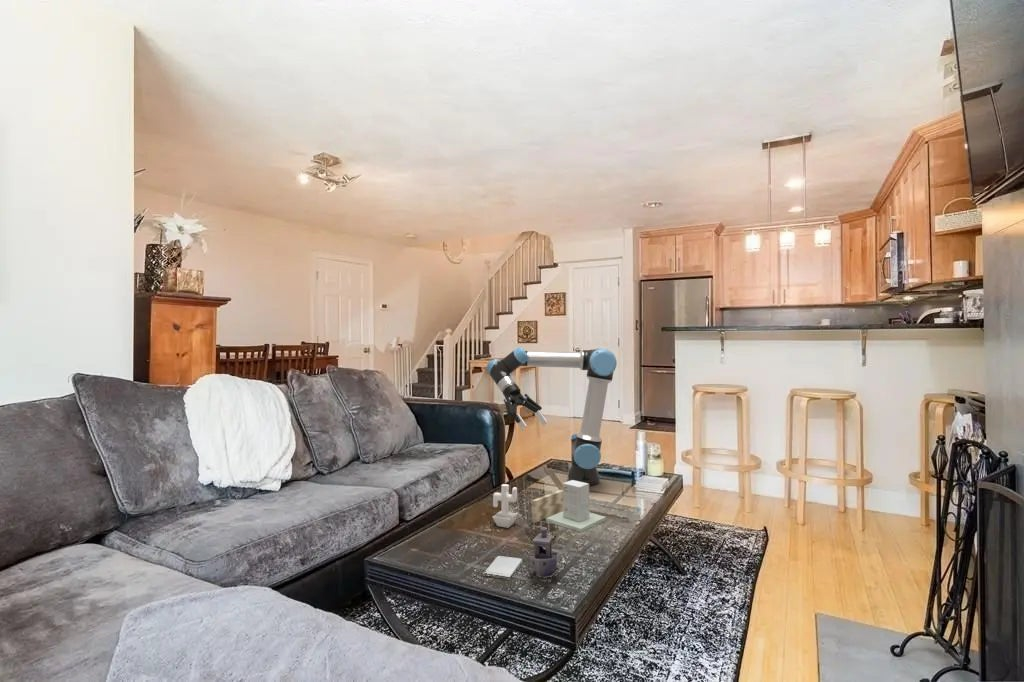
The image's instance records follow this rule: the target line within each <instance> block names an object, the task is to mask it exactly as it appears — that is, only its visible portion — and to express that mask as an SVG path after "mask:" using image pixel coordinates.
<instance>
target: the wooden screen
mask: <svg viewBox="0 0 1024 682" xmlns="http://www.w3.org/2000/svg"><path fill="white" fill-rule="evenodd" d="M562 511H563V488H562V489H560V490H557V491H554V492H551V493H549V494H545V495H542V496H540V497H538V498H535V499H532V500H531V523H534V524H535V523H538V522H541V521H542V520H543V521H544V520H546V518H548V517H550V516H553V515H555V514H557V513H560V512H562Z"/></svg>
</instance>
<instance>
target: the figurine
mask: <svg viewBox="0 0 1024 682" xmlns="http://www.w3.org/2000/svg"><path fill="white" fill-rule="evenodd" d="M500 489H501V491H500V492H494V493H493V494H492V495H493V497H492V506H493V507H494V508H498V505H499V501H500V502H501V510H499V511H498V512H497V513H496V514H494V515H493V516H491V517H492V519H493V520H494V523H495V524H496V526H497V527H500V528H506V529H507V528H510V527H511V526H512V525H513V524H514V522H515V520H516V518H517V516H518V512H511V511H509V510H510V509H509V506H510V505H509V503H516V502H517V501H518V500H517V499H518V488H517V487H516V486H514V487H512V490H511V494H510V492H509V490H510V485H509V484H507V483H505V484H504V483H503V484H501V487H500Z"/></svg>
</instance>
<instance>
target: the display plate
mask: <svg viewBox="0 0 1024 682" xmlns="http://www.w3.org/2000/svg"><path fill="white" fill-rule="evenodd" d="M606 520H607V517H606V516H603V515H599V514H597V513H593V512H590V517H589V518H588V519H585V520H583V521H581V522H579V521H575V520H572V519H568V518H565V517H563V511H562V512H560V513H557V514H555V515H552V516H550V517H548V518H545V522H548V523H550V524H554V525H557V526H560V527H564V528H566V529H569V530H572V531H576V532H580V533H582V532H584V531H586V530H589V529H591V528H592V527H595V526H597V525H599V524H600V523H602V522H605V521H606Z"/></svg>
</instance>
